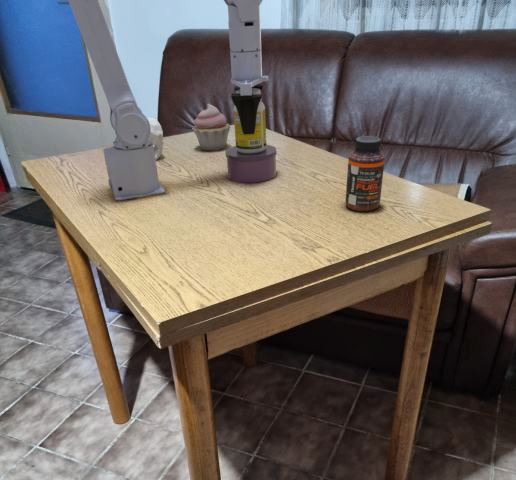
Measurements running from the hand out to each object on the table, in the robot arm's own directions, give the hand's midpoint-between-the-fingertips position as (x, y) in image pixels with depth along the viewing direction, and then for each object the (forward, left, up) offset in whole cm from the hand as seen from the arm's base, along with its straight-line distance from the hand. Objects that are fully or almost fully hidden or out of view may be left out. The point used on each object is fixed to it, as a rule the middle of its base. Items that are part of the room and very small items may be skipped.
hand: (249, 129), depth 102 cm
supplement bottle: (+11, -26, -9) cm, 30 cm away
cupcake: (-1, +25, -9) cm, 27 cm away
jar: (0, 0, -9) cm, 9 cm away
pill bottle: (0, 0, -4) cm, 4 cm away
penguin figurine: (-19, +24, -9) cm, 32 cm away
